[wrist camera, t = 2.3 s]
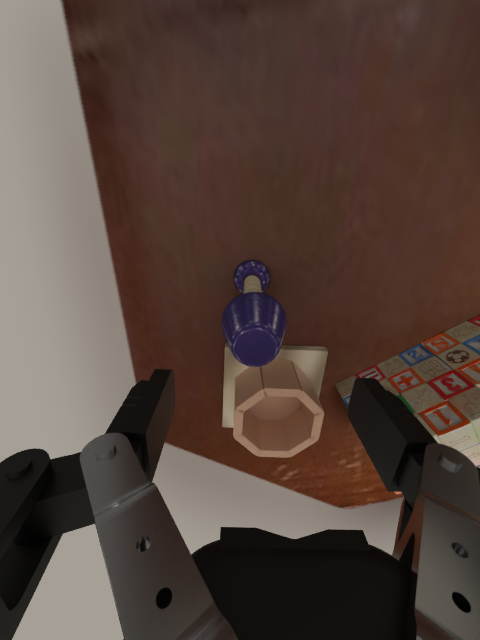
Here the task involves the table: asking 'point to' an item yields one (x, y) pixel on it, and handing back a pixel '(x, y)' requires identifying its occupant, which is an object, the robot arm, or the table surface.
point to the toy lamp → (253, 317)
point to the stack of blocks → (437, 385)
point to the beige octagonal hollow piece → (276, 410)
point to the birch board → (302, 356)
